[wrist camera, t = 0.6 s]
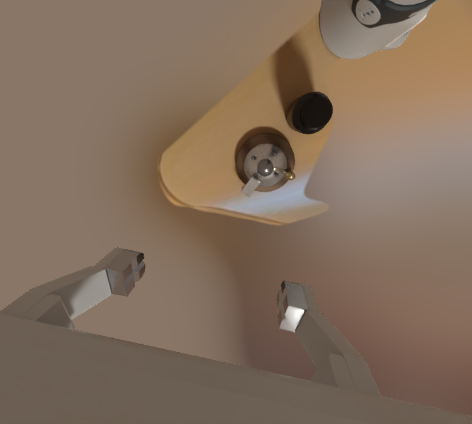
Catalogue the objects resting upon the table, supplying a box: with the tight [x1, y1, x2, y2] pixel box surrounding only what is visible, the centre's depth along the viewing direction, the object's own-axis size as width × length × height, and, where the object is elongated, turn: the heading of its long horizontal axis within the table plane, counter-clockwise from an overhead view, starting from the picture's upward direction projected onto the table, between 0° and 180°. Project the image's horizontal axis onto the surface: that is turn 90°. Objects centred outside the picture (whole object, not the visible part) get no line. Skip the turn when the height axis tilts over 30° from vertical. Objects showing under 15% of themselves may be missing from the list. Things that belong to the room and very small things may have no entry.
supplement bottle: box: [286, 92, 333, 134], centre depth 34 cm, size 7×7×12 cm
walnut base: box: [237, 133, 295, 192], centre depth 43 cm, size 14×14×6 cm
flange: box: [241, 143, 287, 197], centre depth 43 cm, size 13×10×4 cm
